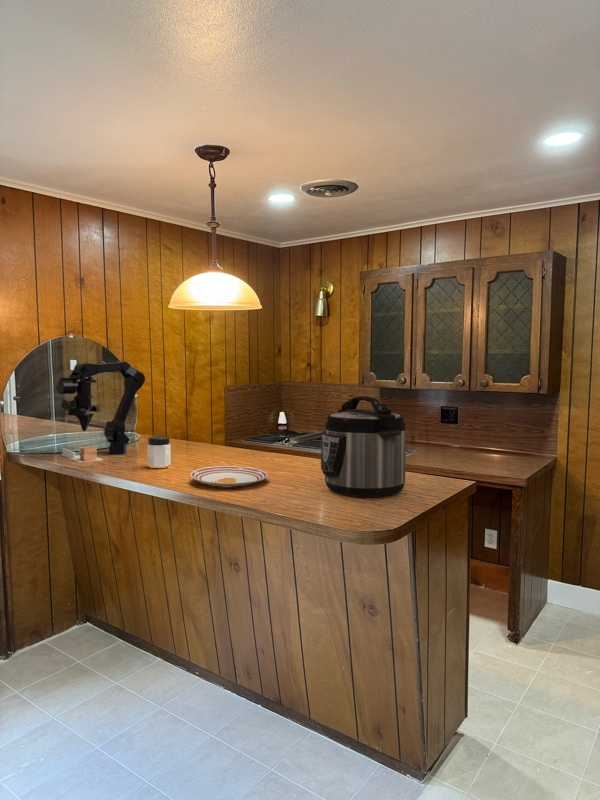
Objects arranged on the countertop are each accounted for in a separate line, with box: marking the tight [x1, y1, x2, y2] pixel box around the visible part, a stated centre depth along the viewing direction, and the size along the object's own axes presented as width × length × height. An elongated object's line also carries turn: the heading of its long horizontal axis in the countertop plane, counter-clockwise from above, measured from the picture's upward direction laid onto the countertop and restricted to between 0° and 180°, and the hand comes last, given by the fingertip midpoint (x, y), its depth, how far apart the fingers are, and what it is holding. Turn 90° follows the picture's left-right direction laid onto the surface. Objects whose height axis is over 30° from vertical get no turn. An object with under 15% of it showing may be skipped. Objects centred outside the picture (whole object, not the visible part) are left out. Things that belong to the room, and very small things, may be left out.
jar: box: [146, 435, 171, 467], centre depth 222 cm, size 9×8×12 cm
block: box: [79, 446, 98, 462], centre depth 228 cm, size 5×5×5 cm
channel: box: [59, 446, 104, 463], centre depth 235 cm, size 24×10×4 cm, turn 41°
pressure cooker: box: [320, 395, 407, 498], centre depth 187 cm, size 30×28×32 cm
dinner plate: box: [189, 465, 269, 487], centre depth 198 cm, size 28×27×3 cm
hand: (84, 430), depth 231 cm, fingers closed
